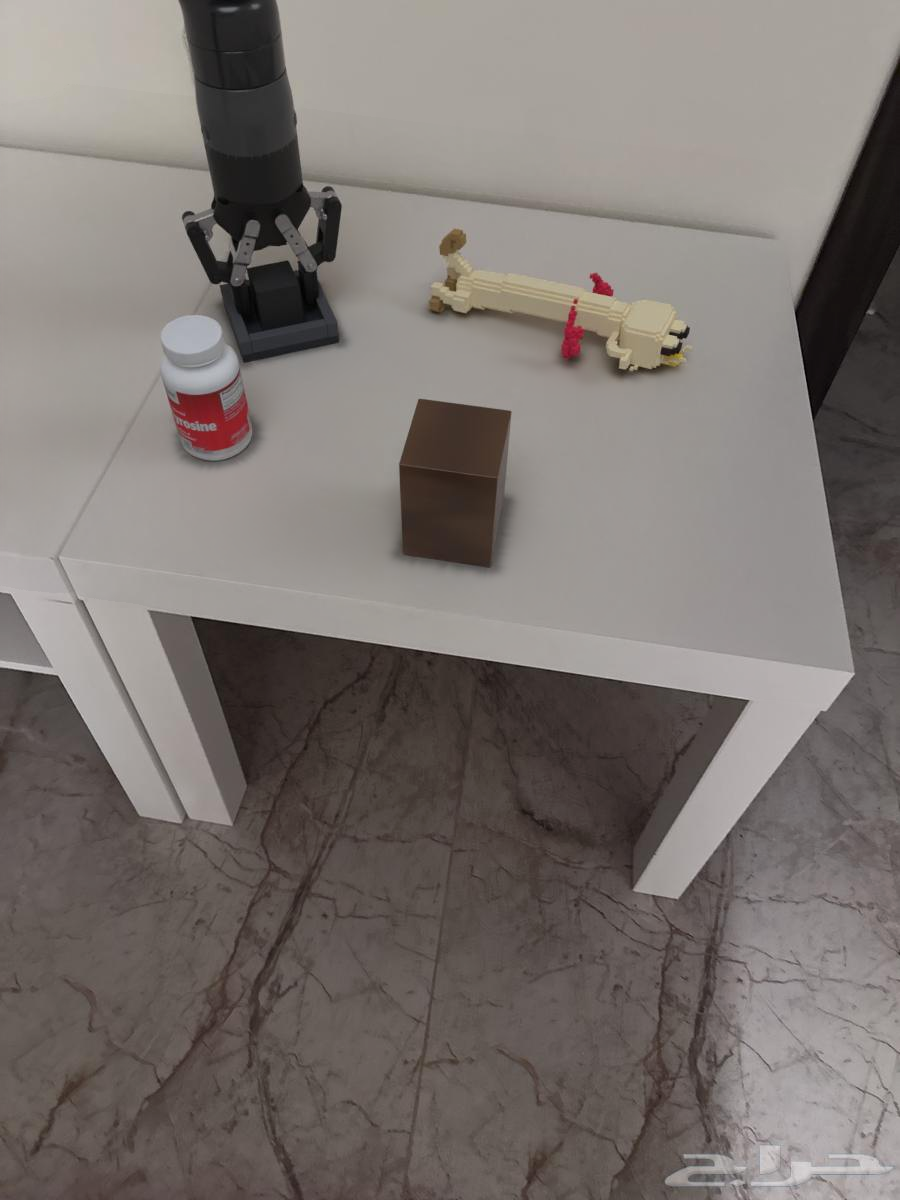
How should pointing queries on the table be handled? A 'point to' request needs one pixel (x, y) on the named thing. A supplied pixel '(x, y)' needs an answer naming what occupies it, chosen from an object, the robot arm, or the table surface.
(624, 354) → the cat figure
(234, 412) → the pill bottle
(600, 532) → the table surface
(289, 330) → the dark open tray
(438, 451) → the riser
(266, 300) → the black block
